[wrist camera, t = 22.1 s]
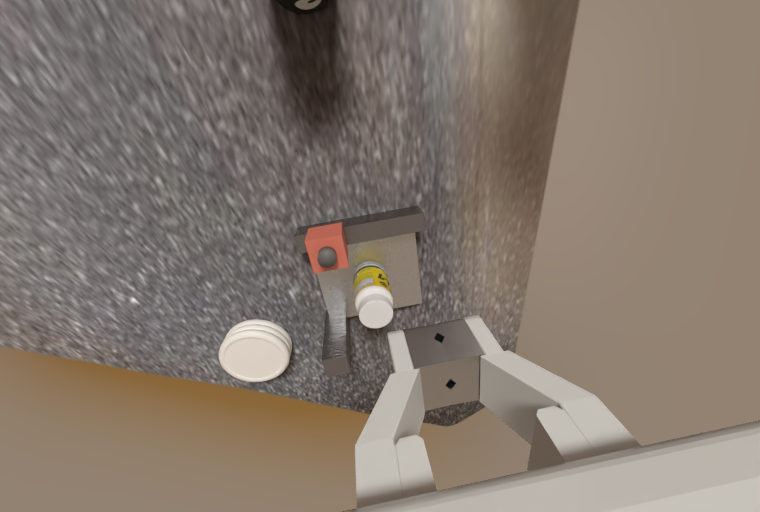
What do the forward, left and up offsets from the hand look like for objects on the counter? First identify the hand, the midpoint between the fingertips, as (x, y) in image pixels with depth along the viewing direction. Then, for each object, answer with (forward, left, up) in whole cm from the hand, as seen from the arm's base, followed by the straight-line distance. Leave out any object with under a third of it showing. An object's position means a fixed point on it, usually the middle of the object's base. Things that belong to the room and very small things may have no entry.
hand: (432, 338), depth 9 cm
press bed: (+2, +14, -29) cm, 32 cm away
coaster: (+21, +23, -30) cm, 43 cm away
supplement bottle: (+2, +14, -28) cm, 31 cm away
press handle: (+6, +7, -26) cm, 27 cm away
